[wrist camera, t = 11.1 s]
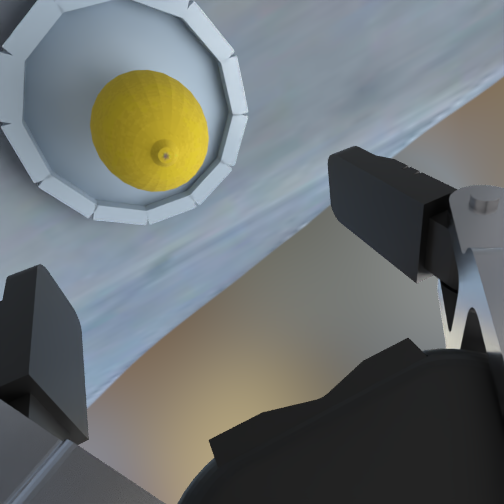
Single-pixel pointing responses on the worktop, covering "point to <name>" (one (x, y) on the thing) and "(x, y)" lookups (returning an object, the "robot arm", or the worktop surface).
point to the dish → (93, 81)
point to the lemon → (149, 130)
